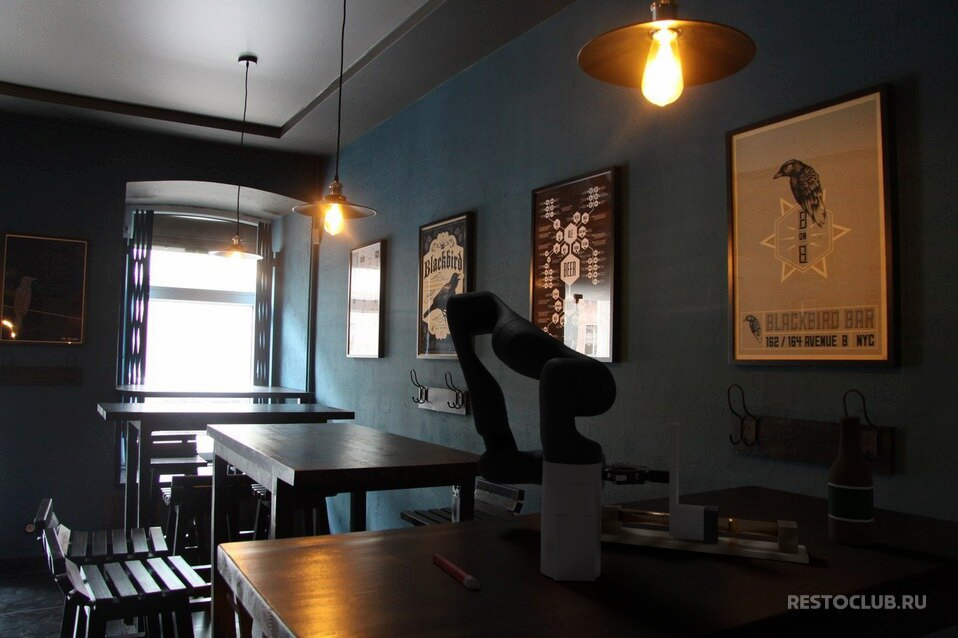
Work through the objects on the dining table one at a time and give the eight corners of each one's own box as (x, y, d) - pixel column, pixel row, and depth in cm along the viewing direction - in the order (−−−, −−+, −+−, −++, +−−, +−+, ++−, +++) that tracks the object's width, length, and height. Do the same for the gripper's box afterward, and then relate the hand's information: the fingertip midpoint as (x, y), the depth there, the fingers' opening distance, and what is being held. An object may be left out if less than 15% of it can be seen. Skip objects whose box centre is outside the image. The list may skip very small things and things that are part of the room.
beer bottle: (819, 538, 139) (818, 414, 141) (849, 536, 142) (847, 415, 143) (853, 547, 132) (851, 417, 133) (883, 545, 134) (882, 417, 136)
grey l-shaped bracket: (668, 537, 129) (669, 424, 130) (671, 530, 135) (672, 422, 136) (703, 540, 127) (703, 426, 128) (705, 534, 133) (705, 424, 134)
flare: (468, 592, 100) (469, 579, 101) (431, 564, 114) (432, 553, 114) (479, 590, 101) (479, 578, 101) (441, 563, 115) (441, 552, 115)
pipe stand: (590, 539, 132) (591, 510, 133) (599, 530, 141) (600, 502, 141) (808, 563, 120) (808, 530, 120) (804, 551, 128) (804, 520, 128)
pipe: (607, 522, 135) (607, 508, 135) (609, 519, 137) (610, 505, 137) (791, 540, 124) (791, 525, 124) (790, 537, 126) (790, 522, 126)
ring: (703, 541, 127) (703, 510, 127) (704, 535, 132) (705, 504, 133) (717, 543, 126) (717, 511, 127) (718, 536, 132) (718, 506, 132)
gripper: (572, 454, 133) (667, 460, 127) (586, 447, 145) (674, 453, 139) (571, 495, 132) (667, 503, 126) (585, 484, 144) (673, 492, 138)
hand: (670, 477), depth 133 cm, fingers closed
